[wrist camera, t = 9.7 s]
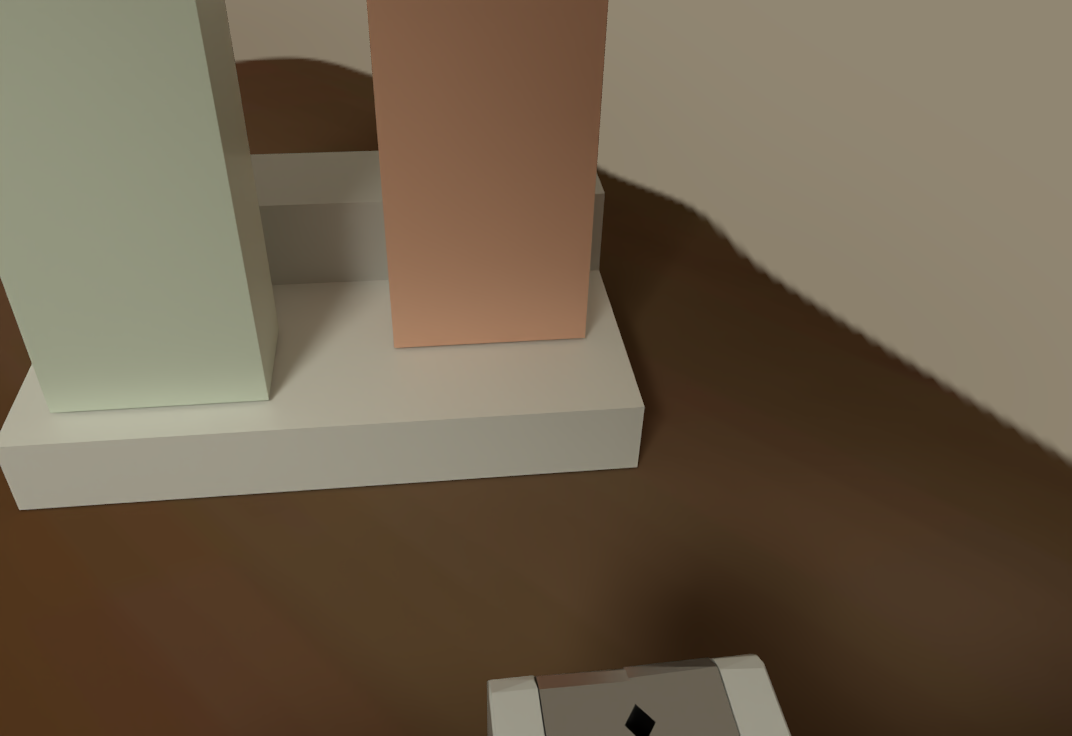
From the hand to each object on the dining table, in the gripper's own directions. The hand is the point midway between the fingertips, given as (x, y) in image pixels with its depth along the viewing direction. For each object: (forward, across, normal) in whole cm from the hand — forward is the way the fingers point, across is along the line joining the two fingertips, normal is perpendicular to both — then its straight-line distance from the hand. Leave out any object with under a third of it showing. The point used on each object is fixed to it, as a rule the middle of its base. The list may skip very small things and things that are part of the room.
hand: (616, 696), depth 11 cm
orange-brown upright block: (+16, 0, +6) cm, 17 cm away
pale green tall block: (+14, +8, +6) cm, 17 cm away
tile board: (+16, +4, +8) cm, 19 cm away
